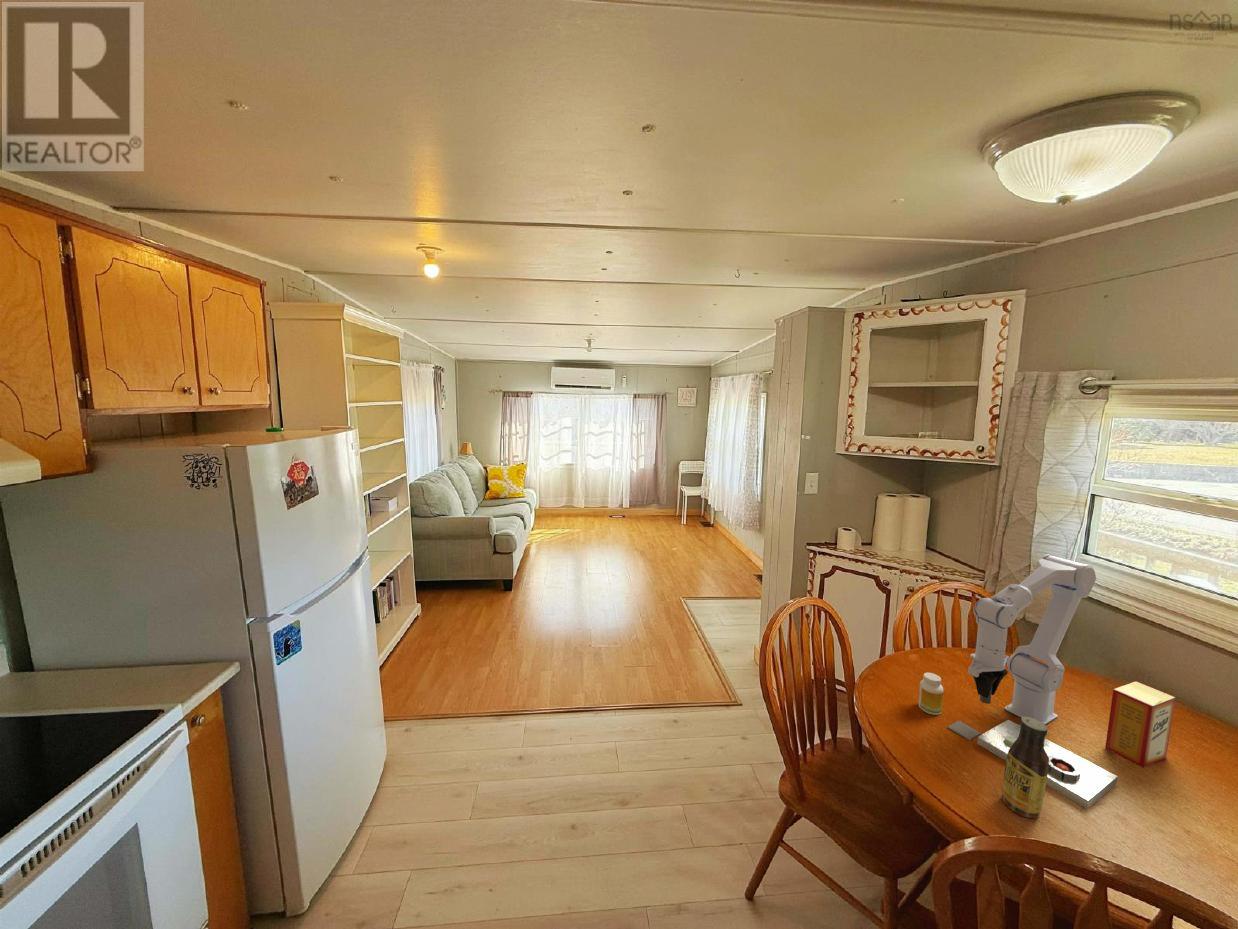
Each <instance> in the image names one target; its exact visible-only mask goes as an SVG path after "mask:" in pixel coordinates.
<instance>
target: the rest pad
mask: <svg viewBox="0 0 1238 929" xmlns="http://www.w3.org/2000/svg"><path fill="white" fill-rule="evenodd" d="M947 729H949V730H951V731H952V732H954V733H955V734H957V735H959V736H961V737H963V738H964V739H966V740H967V741H971V740H973V739H975V738H978V736H980V735H982V734H981V732H979V731H978V730H976V729H974V728H973V727H971V726H969V725H967V724H966V723H964V722H962V721H961V720H957V721H956V722H955V721H954V722H953V723H952V724H950V725H947Z"/></svg>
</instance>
